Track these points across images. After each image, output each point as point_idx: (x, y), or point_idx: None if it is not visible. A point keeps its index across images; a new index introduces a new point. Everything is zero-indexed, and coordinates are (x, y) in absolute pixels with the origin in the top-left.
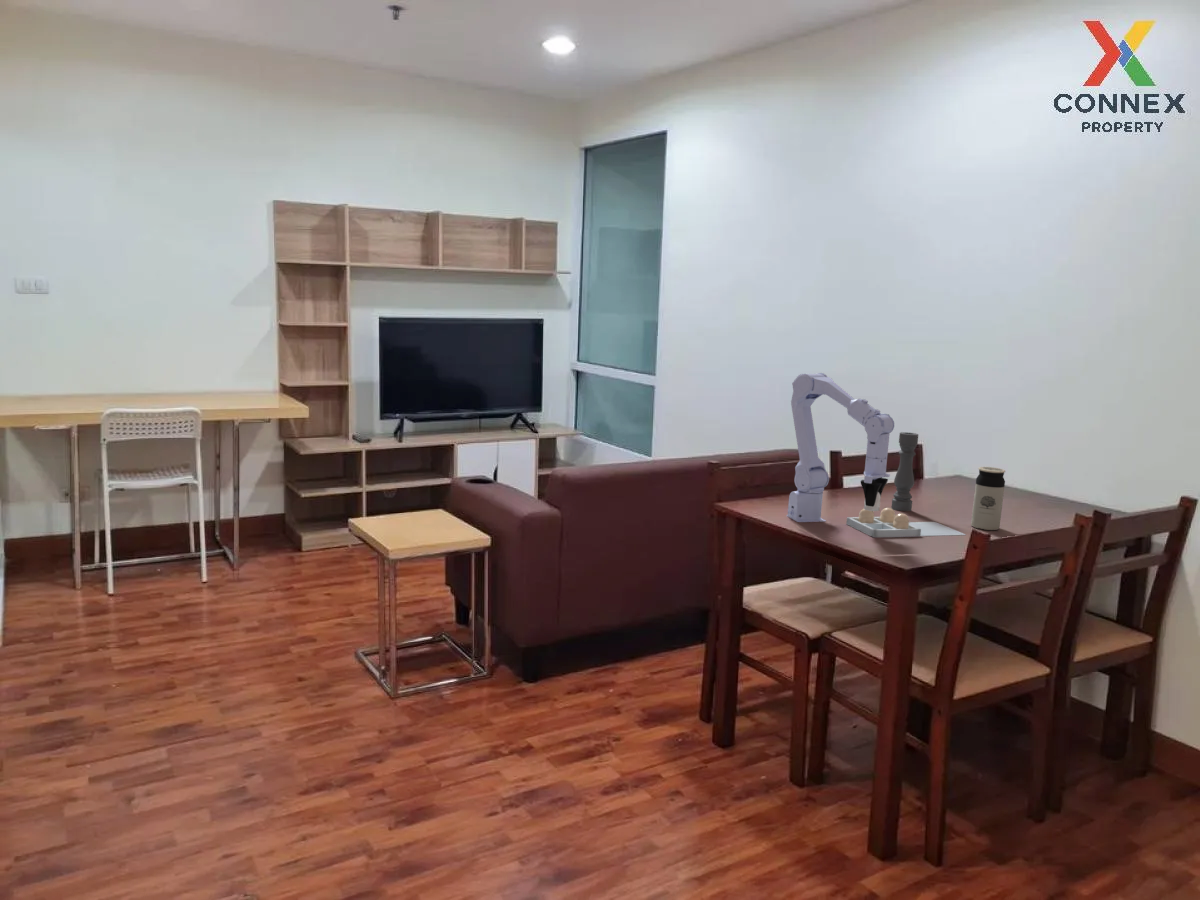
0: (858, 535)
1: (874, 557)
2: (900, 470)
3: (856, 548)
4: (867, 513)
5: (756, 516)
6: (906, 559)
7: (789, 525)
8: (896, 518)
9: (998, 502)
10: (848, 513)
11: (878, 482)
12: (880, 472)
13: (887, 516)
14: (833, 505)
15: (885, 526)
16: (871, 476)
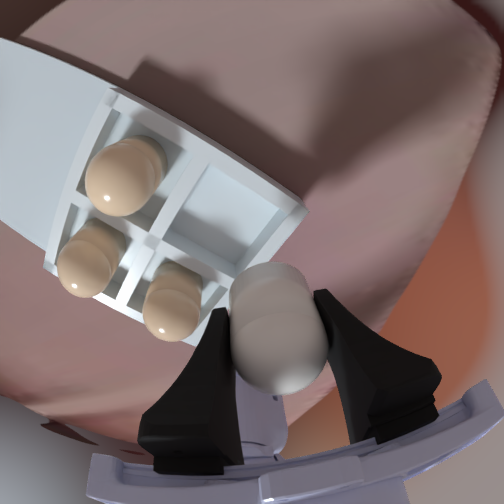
0: (287, 253)
1: (479, 125)
2: None
3: (437, 191)
4: (190, 311)
5: (290, 422)
6: (448, 45)
7: (316, 381)
8: (147, 193)
9: None
10: (82, 361)
11: (225, 432)
12: (398, 496)
13: (106, 256)
14: (69, 390)
15: (173, 218)
16: (497, 422)
